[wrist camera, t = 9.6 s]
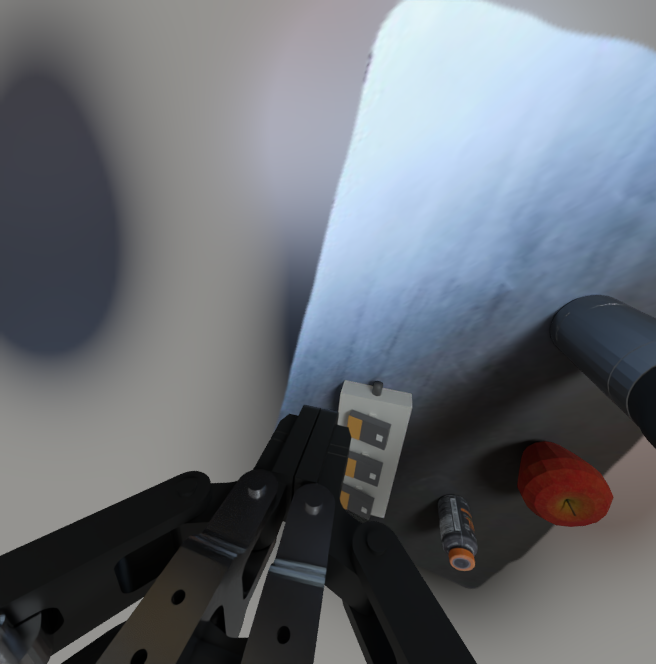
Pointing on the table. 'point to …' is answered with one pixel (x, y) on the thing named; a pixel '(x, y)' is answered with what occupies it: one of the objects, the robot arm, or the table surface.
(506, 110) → the table surface
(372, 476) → the block
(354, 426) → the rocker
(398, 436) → the power strip
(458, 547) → the pill bottle
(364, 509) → the rocker
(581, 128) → the table surface
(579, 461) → the apple
